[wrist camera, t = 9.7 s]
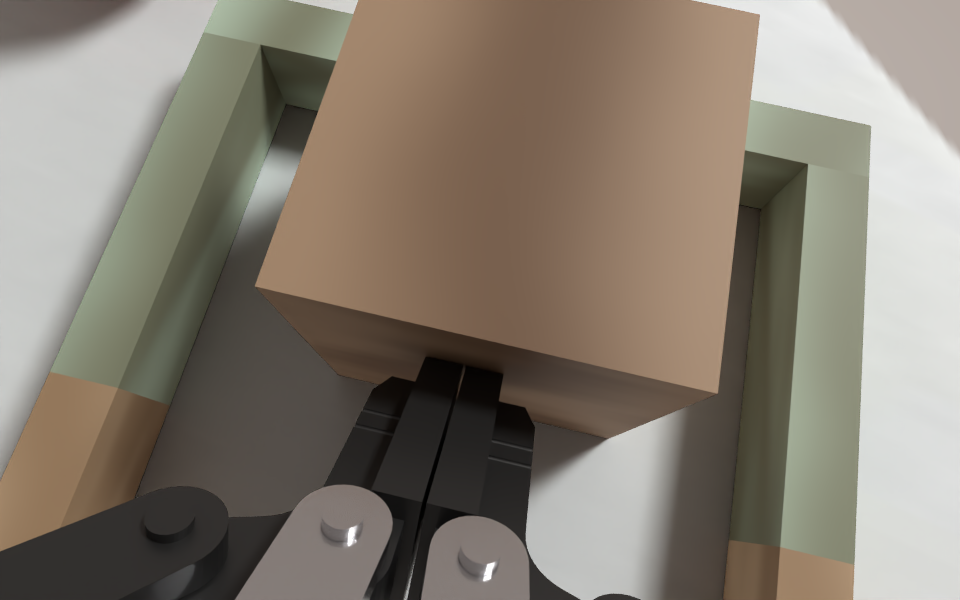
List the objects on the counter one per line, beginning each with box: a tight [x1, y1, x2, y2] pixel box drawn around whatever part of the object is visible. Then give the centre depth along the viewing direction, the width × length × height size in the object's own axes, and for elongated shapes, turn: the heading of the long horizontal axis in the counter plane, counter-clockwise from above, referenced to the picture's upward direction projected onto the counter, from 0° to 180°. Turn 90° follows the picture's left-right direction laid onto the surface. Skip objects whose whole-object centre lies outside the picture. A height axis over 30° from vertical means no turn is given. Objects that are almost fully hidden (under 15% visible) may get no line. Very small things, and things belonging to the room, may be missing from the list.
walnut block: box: [255, 0, 760, 439], centre depth 14 cm, size 7×7×7 cm
